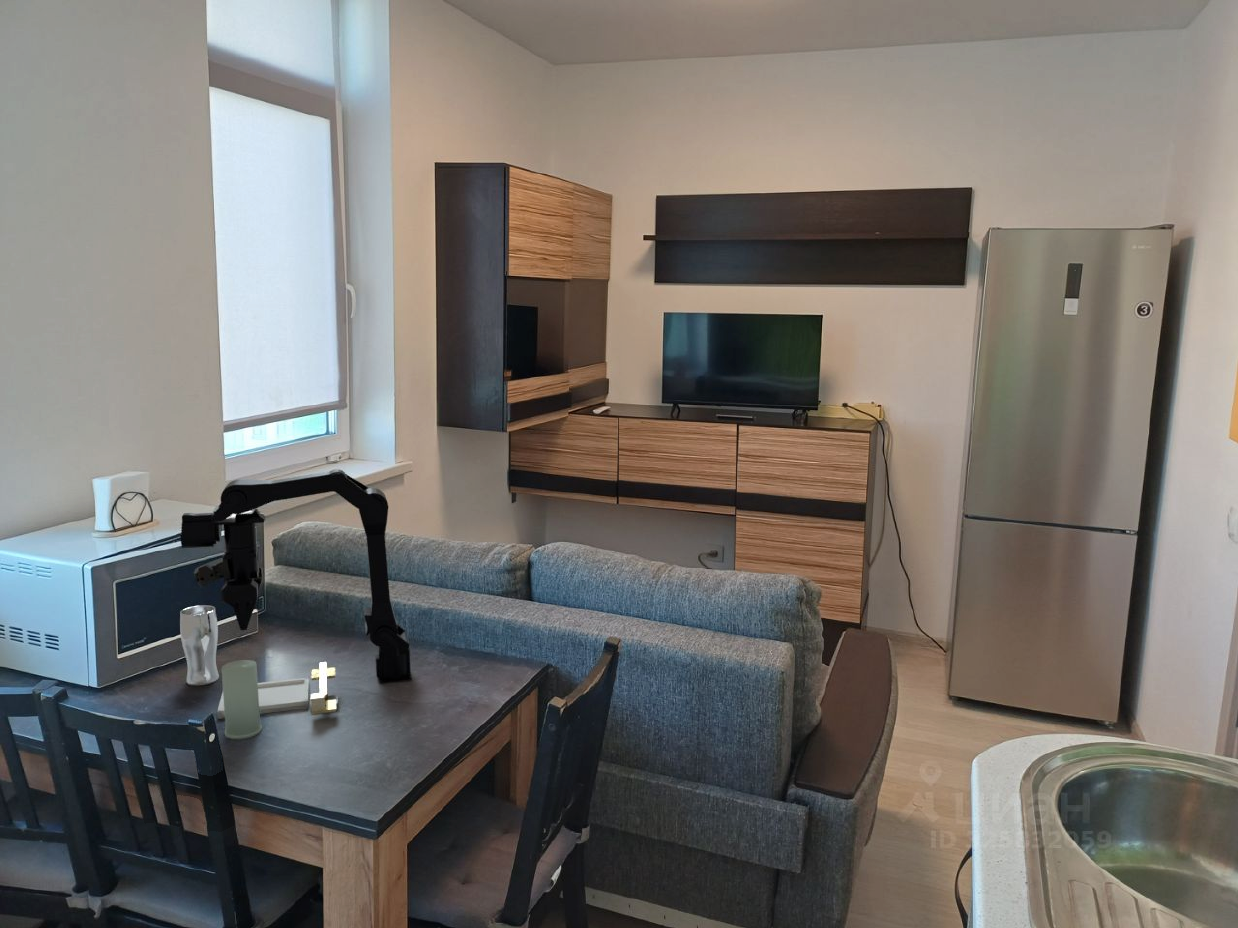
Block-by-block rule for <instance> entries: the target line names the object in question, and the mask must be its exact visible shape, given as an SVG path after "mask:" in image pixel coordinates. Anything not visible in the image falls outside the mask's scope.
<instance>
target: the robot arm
mask: <svg viewBox="0 0 1238 928" xmlns="http://www.w3.org/2000/svg"><path fill="white" fill-rule="evenodd" d="M332 492H334V493H336V494H337V495H339V496H340V497H341V498H342V499H344V500H345V501H346V502H348V503H349V504H351V505H352V506H353V507H355V508H356V509H358V512H359V516H360V519H361V523H362V527H363V529H364V534H365V537H366V547H367V560H368V573H369V583H370V595H371V596H370V597H371V600H370V606H369V607H365V606H364V607H363V614H364V619H365V622H364V629H365V636H369V639H370V642H371V643H372V644H373V645H375V646H376V647H377V654H375V655H374V657H375V673H376V678H377V679H378V680H379V683H380V684H386V683H397V682H404V681H412V679H413V675H412V671H411V647H410V642H409V637H408V633H407V630H405V628H403V627H402V626H400V625H399V624H398V623H397V619H396V615H395V613H394V612H395V611H394V609H393V606H392V605H393V604H392V601H391V598H390V597H391V596H390V584H389V575H388V574H389V571H388V559H387V548H386V547H387V546H386V530H387V524H388V516H389V503H388V500H387V497H386V495H385V493H384V492H383V491H382V490H381V489H379V488H376V487H368V486H367V485H365V484H364V483H362V482H360V481H359V480H357V479H355V478H353V477H352V476H350V475H349V474H347V473H346V472H345V471H344V470H342V469H339V468H337V469H332V470H330V471H325V472H323V471H322V472H318V473H311V474H306V475H305V474H304V475H300V476H293V477H292V476H291V477H287V478H286V477H285V478H280V479H274V480H262V479H235V480H232V481H230V482H229V483H227V484H226V486H225V487H224V488H223V491H222V492H221V494H220V504H219V505H218V506H215V508H214V509H213V512H202V513H195V512H185V513H183V514H182V516H181V529H180V531H181V532H180V534H179V537H180V545H181V548H182V549H183V550H192V549H203V548H205V549H206V548H216V545H217V543H220V542H221V541H222V526H223V536H224V538H223V539H224V552H223V554H222V557H220V558H218V559H215V560H214V559H213V561H209V562H207V563H205V564H202V565H200V566H198V567H196V568H195V569H194V570H193V575H194V577H195V579H194V580H195V582H196V583H198V585H199V586H200V587H199V588H205V587H207V586H208V585H209V584H212V583H214V582H218V581H219V580H221V579H223V582H225V584H223V586H222V588H221V591H220V593H221V595H220V597H221V601H222V602H223V603H224V604H227V605H229V606H230V607H232V609H233V611H234V614H235V618H236V621H237V624H238V628H239V630H240V631H246V630H248V626H249V624H250V620H251V618H252V616H253V613H254V609H255V607H256V603H257V602H258V598H259V590H260V587H261V585H262V584H261V583H262V580H263V575H264V570H263V567H264V566H263V564H262V563H260V562H259V561H258V559H259V558H258V552H259V548H258V544H257V530H256V529H257V526H256V524H263V523H265V521H266V515H265V514H263V513H261V512H260V511H259V508H262V507H263V506H266V505H268V504H271V503H273V502H278V501H284V500H290V499H294V498H302V497H307V496H314V495H315V496H316V495H320V494H326V493H332ZM249 511H252V512H250V513H249ZM232 515H235V517H233V518H232V517H231V516H232ZM230 517H231V518H230ZM182 549H181V550H182Z"/></svg>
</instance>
